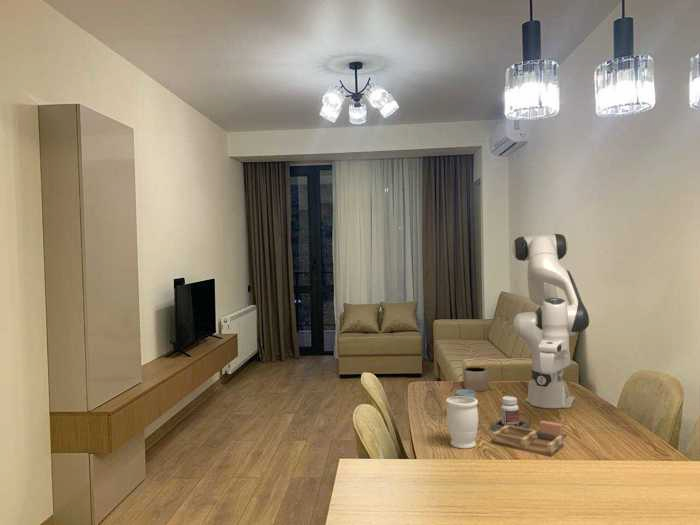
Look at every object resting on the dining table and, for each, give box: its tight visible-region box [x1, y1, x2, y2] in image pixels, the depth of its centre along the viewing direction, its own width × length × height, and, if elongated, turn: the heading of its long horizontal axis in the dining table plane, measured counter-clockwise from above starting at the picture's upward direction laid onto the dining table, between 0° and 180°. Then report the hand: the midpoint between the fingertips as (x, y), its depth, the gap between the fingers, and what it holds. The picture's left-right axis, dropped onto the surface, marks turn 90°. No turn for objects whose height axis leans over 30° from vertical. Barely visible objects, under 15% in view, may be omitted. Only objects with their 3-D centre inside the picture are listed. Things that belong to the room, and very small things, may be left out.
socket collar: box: [490, 418, 531, 432], centre depth 189 cm, size 10×10×2 cm
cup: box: [454, 389, 476, 399], centre depth 203 cm, size 8×8×10 cm
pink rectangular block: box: [539, 420, 564, 436], centre depth 182 cm, size 2×7×4 cm, turn 49°
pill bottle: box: [500, 395, 520, 427], centre depth 189 cm, size 6×6×11 cm
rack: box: [491, 425, 565, 457], centre depth 173 cm, size 11×20×4 cm, turn 49°
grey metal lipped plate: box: [537, 429, 568, 441], centre depth 179 cm, size 10×9×3 cm
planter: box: [463, 366, 489, 393], centre depth 248 cm, size 11×11×10 cm
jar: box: [446, 395, 479, 450], centre depth 175 cm, size 11×10×15 cm
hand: (556, 382), depth 186 cm, fingers open, 3 cm apart
